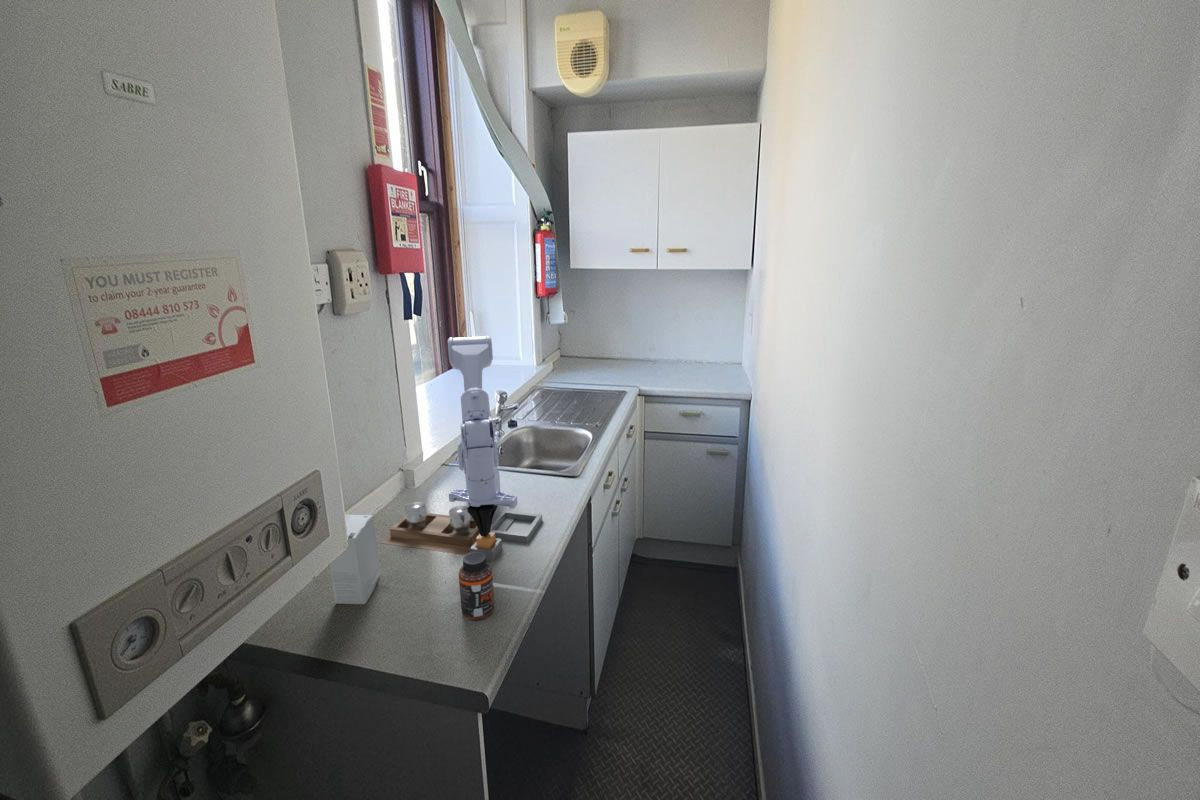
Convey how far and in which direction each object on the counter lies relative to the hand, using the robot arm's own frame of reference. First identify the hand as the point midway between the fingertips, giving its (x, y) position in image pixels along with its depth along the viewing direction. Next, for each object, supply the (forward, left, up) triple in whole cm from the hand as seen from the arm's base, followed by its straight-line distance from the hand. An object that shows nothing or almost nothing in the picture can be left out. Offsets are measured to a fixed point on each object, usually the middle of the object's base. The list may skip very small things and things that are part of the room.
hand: (485, 533), depth 116 cm
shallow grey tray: (-11, +2, -5) cm, 12 cm away
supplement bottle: (+17, +6, -6) cm, 19 cm away
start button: (0, 0, -3) cm, 3 cm away
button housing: (0, 0, -5) cm, 5 cm away
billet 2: (-5, -9, -4) cm, 11 cm away
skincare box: (+17, -19, -6) cm, 26 cm away
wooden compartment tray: (-5, -14, -5) cm, 16 cm away
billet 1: (-5, -20, -4) cm, 21 cm away
